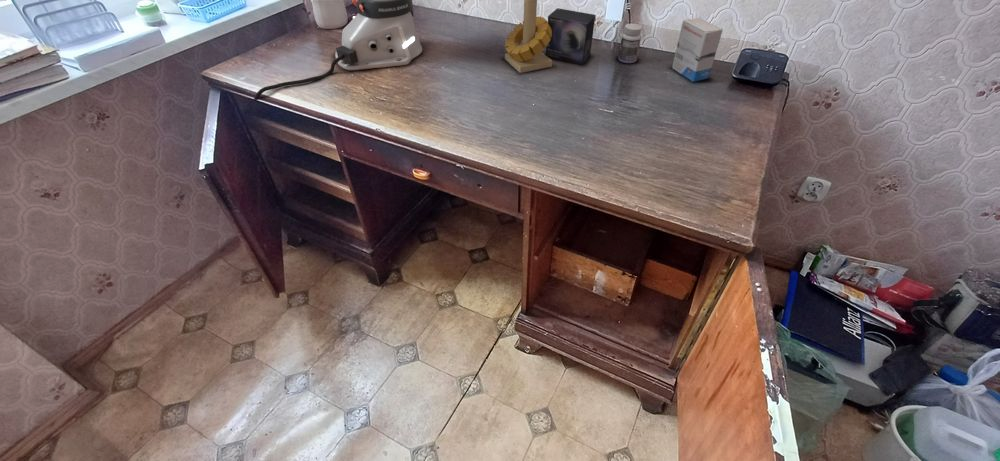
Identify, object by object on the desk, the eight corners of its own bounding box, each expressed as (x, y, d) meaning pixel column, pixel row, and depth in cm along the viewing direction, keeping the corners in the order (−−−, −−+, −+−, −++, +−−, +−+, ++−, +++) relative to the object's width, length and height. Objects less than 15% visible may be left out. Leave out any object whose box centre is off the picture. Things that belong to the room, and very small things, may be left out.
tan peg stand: (520, 73, 115) (521, 6, 104) (504, 59, 120) (505, -6, 110) (552, 66, 117) (557, 1, 107) (535, 53, 123) (538, -11, 112)
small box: (543, 57, 121) (546, 15, 114) (553, 48, 125) (556, 7, 118) (582, 65, 118) (587, 22, 110) (591, 55, 122) (596, 13, 114)
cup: (325, 32, 134) (316, -4, 127) (310, 23, 140) (300, -12, 133) (355, 24, 139) (347, -12, 132) (338, 15, 144) (330, -19, 137)
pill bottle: (621, 54, 122) (627, 21, 117) (639, 58, 121) (645, 24, 115) (615, 61, 119) (620, 27, 114) (632, 65, 118) (639, 31, 112)
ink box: (709, 79, 112) (725, 29, 104) (691, 82, 110) (706, 32, 102) (686, 64, 118) (700, 16, 109) (669, 68, 116) (682, 19, 108)
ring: (521, 68, 114) (516, 60, 112) (504, 48, 121) (498, 40, 119) (559, 36, 111) (555, 28, 109) (539, 18, 119) (535, 10, 117)
